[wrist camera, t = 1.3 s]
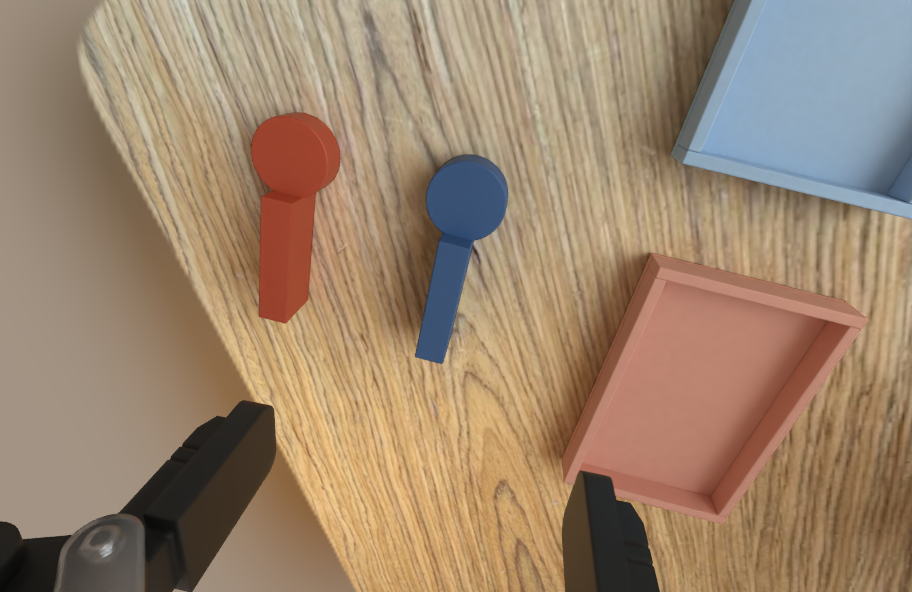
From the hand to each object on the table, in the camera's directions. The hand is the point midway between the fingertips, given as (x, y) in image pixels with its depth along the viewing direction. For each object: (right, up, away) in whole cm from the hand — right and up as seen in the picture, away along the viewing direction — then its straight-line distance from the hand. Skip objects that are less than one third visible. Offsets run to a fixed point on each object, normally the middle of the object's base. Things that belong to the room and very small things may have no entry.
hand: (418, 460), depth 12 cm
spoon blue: (+1, +7, +14) cm, 16 cm away
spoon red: (-8, +9, +14) cm, 19 cm away
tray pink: (+15, -1, +16) cm, 22 cm away
